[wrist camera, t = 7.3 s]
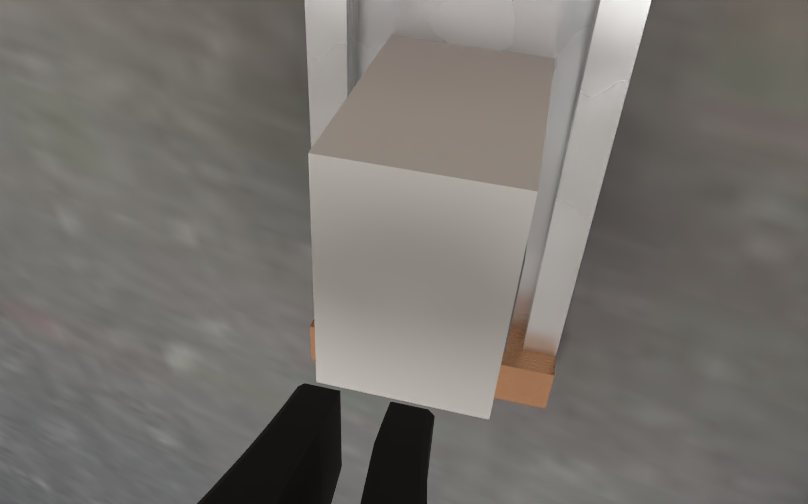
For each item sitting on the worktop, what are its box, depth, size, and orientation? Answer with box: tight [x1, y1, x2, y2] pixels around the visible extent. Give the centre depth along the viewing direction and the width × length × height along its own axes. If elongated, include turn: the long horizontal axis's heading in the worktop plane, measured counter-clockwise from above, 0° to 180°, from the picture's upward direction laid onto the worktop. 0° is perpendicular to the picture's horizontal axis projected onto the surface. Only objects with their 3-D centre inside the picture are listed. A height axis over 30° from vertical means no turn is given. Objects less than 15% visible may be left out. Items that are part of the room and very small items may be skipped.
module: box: [308, 36, 555, 419], centre depth 16 cm, size 6×4×6 cm
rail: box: [305, 0, 651, 408], centre depth 16 cm, size 15×8×4 cm, turn 177°
